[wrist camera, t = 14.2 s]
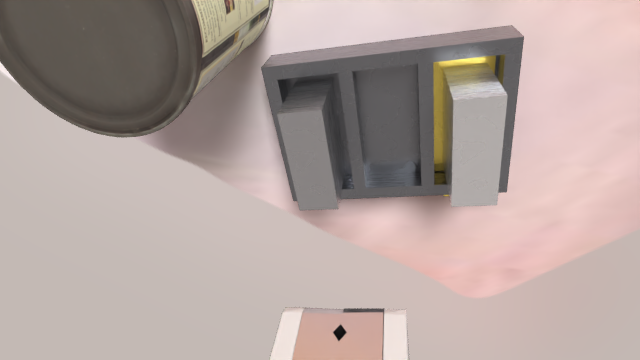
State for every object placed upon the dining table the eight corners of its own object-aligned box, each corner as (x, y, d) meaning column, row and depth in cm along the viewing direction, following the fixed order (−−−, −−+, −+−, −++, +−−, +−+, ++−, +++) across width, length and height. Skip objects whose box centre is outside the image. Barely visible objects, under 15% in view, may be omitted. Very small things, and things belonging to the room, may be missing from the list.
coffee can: (112, -23, 30) (-67, 18, 18) (194, -142, 25) (22, -188, 13) (214, 81, 33) (119, 172, 22) (303, -5, 28) (243, 52, 17)
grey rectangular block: (487, 63, 28) (507, 95, 23) (480, 160, 32) (496, 205, 27) (442, 67, 29) (453, 100, 24) (442, 162, 33) (451, 206, 28)
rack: (512, 25, 27) (543, 55, 22) (498, 174, 34) (519, 228, 28) (271, 55, 31) (244, 87, 25) (300, 184, 38) (284, 233, 32)
